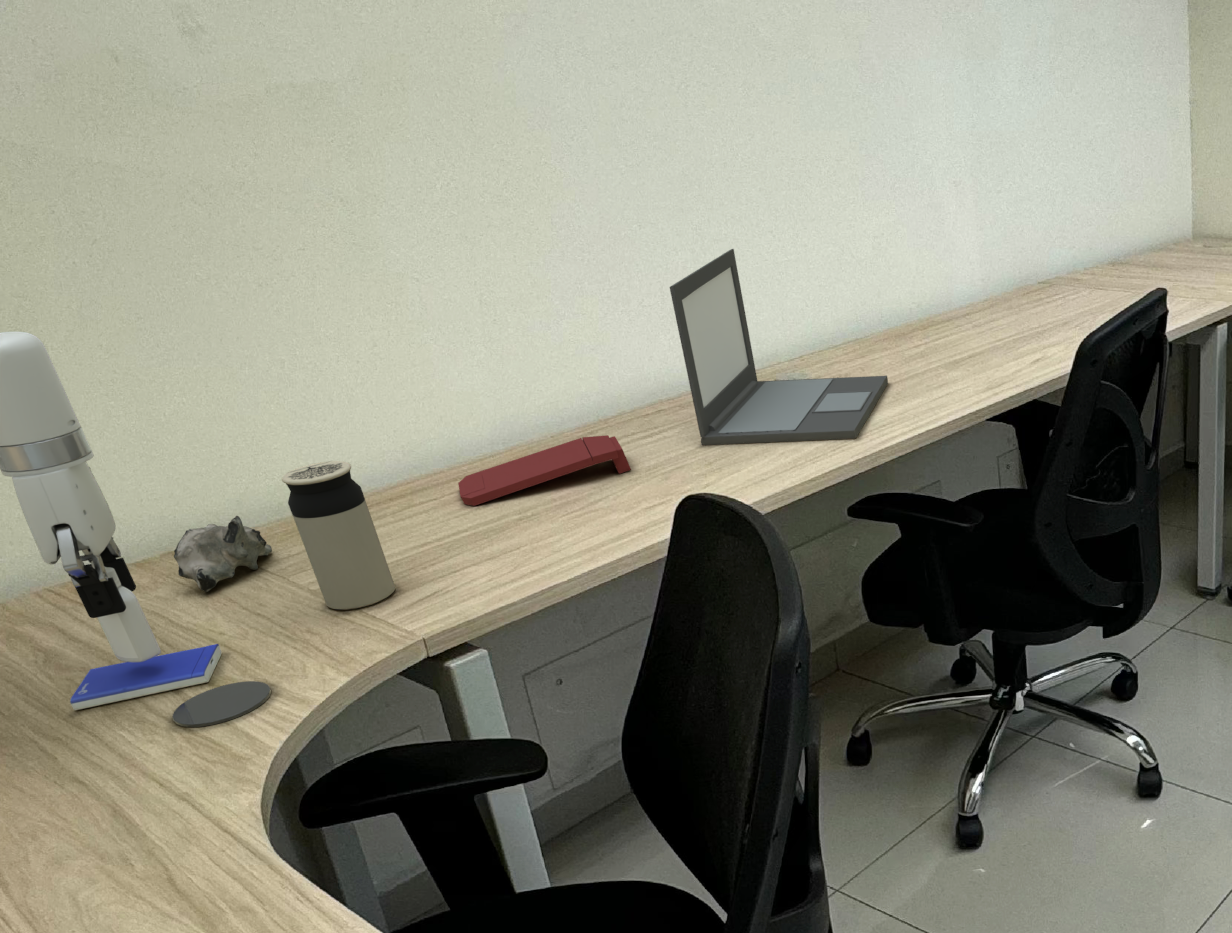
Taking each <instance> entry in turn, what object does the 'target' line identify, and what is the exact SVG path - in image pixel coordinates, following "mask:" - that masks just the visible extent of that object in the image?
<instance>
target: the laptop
mask: <svg viewBox="0 0 1232 933" xmlns="http://www.w3.org/2000/svg"><path fill="white" fill-rule="evenodd" d="M669 292H670V296H671V302H672V306H673V310H674V315H675V320H676V325H677V330H678V336H679V339H680V344H681V349H682V354H683V359H684V364H685V369H686V374H687V378H688V383H689V388H690V394H691V398H692V403H693V408H694V412H695V416H696V417H695V418H696V422H697V428H698V432H699V435H700V444H701V446H716V445H740V444H759V443H760V444H762V443H765V444H766V443H785V442H786V443H787V442H808V441H829V440H830V441H831V440H834V441H835V440H855V439H857V438H858V436H859V434H860V432H861V430H862V429H863V427H864V426H865V424H866V422H867V420H868V419H869V417H870V415H871V414H872V412H873V410H874V409H875V407H876V405H877V403H878V401H879V400H880V398H881V396H882V395H883V394H884V391H885V390H886V388H887V386H888V384H889V379H888V375H872V376H871V375H870V376H869V375H868V376H849V377H848V376H846V377H826V378H823V377H822V378H821V377H820V378H801V379H800V378H799V379H779V380H778V379H776V380H758V377H757V376H758V375H757V371H756V366H755V365H756V364H755V359H754V354H753V349H752V342H751V337H750V332H749V327H748V321H747V315H746V310H745V304H744V299H743V298H744V297H743V293H742V287H741V282H740V276H739V271H738V266H737V260H736V254H735V249H734V248H731V249H729V250H727V251H726V252H724V253H722V254H721V255H719V256H717V257H716V258H714V259H713V260H711V261H709V262H708V263H706V264H704V265H703V266H701V267H700V268H697V269H696V270H695V271H693V272H691V273H690V274H688V275H686V276H685V277H683V278H681V279H680V280H679V281H677V282H675V283H673V284H672V285H670V286H669Z"/></svg>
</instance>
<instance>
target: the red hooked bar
mask: <svg viewBox="0 0 1232 933" xmlns="http://www.w3.org/2000/svg"><path fill="white" fill-rule="evenodd" d="M609 461H611V462H612V464H613V465H614V467H615V469H616V471H617V473H618V474H619V475H620V474H623V473H626V472H629V471H631V470H632V468H631V466H630V463H629V460H628V459H627V456H626V454H625V452H624V449H623V447H622V445H621V444H620V442H619V440H618V439H617V437H616V436H611V437H610V436H609V435H607V434H606V435H595V436H593V435H592V436H582V437H578V438H576V439H572V440H570V441H567V442H564V443H560V444H557V445H555V446H552V447H549V448H546V449H543V450H540V451H537V452H534V453H531V454H528V455H525V456H521V457H519V458H516V459H513V460H510V461H506V462H503V463H501V464H498V465H495V466H492V467H488V468H485V469H483V470H480V471H476V472H474V473H471V474H468V475H466V476H465V477H463V478H462V479H461V480H460V481H459V482H457V484H458V485H457V486H458V490H459V496H460V499H461V500H462V502H463V505H466V506H467V505H468V506H474V507H475V506H478V505H480V504H484V503H486V502H490V501H492V500H496V499H498V498H501V497H504V496H507V495H510V494H513V493H515V492H519V491H522V490H524V489H527V488H530V487H534V486H536V485H539V484H542V483H545V482H547V481H551V480H555V479H556V478H560V477H562V476H565V475H569V474H571V473H574V472H577V471H580V470H582V469H586V468H589V467H592V466H594V465H597V464H601V463H605V462H609Z"/></svg>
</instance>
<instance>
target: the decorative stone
mask: <svg viewBox="0 0 1232 933" xmlns="http://www.w3.org/2000/svg"><path fill="white" fill-rule="evenodd" d="M272 552H273V548H272V545H271V544H267V541H266V539H265V538H264V537H263V536H262V534H261V531H260V530H257V529H255V528H252V527H250V526H246V525H244V524H243V521H242V519H241V517H240V516H239V515H236V516H235V517H233V518H232V519H231V520H230V522H228V525H227V526H225V525H217V524H215V523H209V524H207V525H206V526H205V527H196V528H189V529H186V531H185V532H184V534H183V535H182V537H181V539H180V540H179V541H178V543H177V545H176V547H175V548H174V555H173V559H174V560H175V561H176V563H177V565H178V571H177V572H178V576H179V577H182V578H185V579H188V580H193V581H194V582H195V583H196V585H197V587H198V589H199V590H200V591H203V592H205V593H208V592H210V591H211V590H212V589H213V588H215V587H216V586H217V584H218V582H220V581H222V580H225V579H232V578H233V577H234V576H235V574H236V572H235V570H236V568H237V567H239V566H240V567H241V566H243V567H246V568H248V569H250V570H252V571H253V570H258V569H259V565H258V563H257V560H258V558H259V557H268V556H269V554H271V553H272Z"/></svg>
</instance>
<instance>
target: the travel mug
mask: <svg viewBox="0 0 1232 933" xmlns="http://www.w3.org/2000/svg"><path fill="white" fill-rule="evenodd" d="M351 470H352V465H351V464H350V463H349V462H347V461H343V460H328V461H321V462H315V463H310V464H306V465H303V466H298V467H296V468H294V469H291V470H289V471H287V472H285V473H284V474H283V475H282V477H281V481H282V483H283V484H285V485H286V486H287V488H288V489H289V491H290V493H289V497H288V500H287V504H288V507H289V510H290V512H291V515H292V518H293V520H294V523H295V525H296V528H297V531H298V534H299V536H300V540H301V541H302V544H303V547H304V550H305V552H306V555H307V558H308V560H309V563H310V565H311V568H312V571H313V574H314V576H315V579H316V581H317V583H318V587H319V589H320V592H321V594H322V598H323V600H324V602H325V605H326V607H328V608H330V609H333V610H346V611H347V610H349V611H350V610H357V609H362V608H365V607H368V606H373V605H374V604H377V603H379V602H381V601H383V600H385V599H387V598H388V597H390V595H392V594H393V593H394V592H395V590H396V585H395V581H394V579H393V577H392V572H391V570H390V568H389V564H388V561H387V559H386V556H385V553H384V550H383V548H382V544H381V542H380V538H379V536H378V533H377V530H376V526H375V524H374V522H373V519H372V515H371V512H370V509H369V507H368V503H367V500H366V498H365V495H364V492H363V489H362V487H361V486H360V485H359V484H358V483H357V482H356V481H355V480H354V479H353V478H352V475H351Z"/></svg>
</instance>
